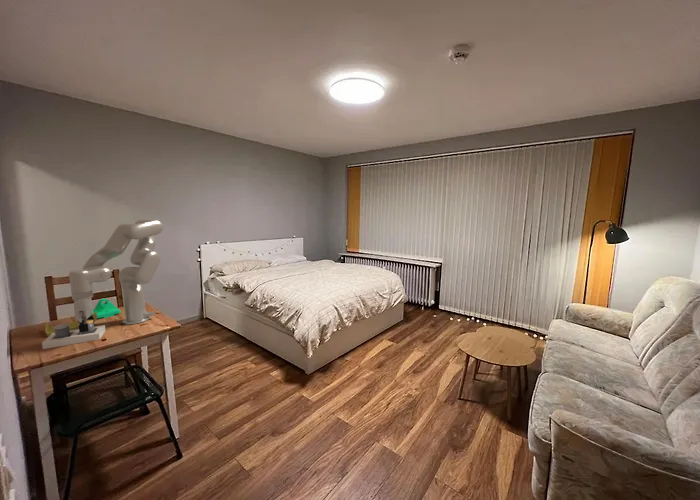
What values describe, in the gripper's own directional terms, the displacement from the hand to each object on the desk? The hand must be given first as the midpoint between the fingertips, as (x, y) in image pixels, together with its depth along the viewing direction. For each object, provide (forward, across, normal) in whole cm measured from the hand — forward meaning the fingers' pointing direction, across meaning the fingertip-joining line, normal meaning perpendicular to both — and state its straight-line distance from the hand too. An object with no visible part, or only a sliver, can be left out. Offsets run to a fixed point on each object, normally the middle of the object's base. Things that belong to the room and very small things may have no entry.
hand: (87, 328), depth 142 cm
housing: (+5, 0, -4) cm, 7 cm away
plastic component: (+6, -16, -10) cm, 20 cm away
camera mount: (+6, -35, +1) cm, 35 cm away
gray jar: (+5, 0, 0) cm, 5 cm away
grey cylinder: (+5, 0, -9) cm, 10 cm away
